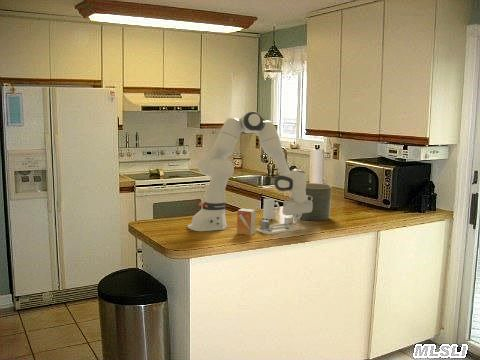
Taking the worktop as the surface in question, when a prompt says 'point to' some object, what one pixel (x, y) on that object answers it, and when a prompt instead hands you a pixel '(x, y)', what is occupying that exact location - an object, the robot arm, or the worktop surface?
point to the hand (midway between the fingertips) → (297, 221)
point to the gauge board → (275, 228)
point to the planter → (318, 202)
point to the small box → (246, 221)
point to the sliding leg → (289, 221)
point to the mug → (269, 209)
